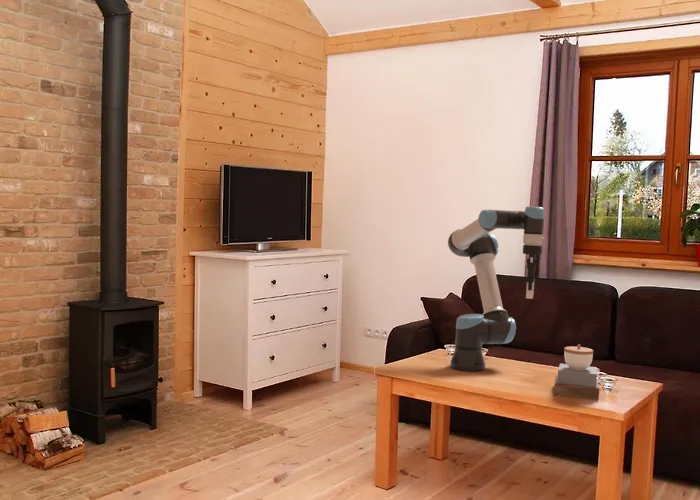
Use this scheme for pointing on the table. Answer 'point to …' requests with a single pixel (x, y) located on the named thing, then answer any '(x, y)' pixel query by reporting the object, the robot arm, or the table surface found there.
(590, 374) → the grey square slab
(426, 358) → the table surface
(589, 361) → the lidded jar
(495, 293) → the robot arm
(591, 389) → the tower base
